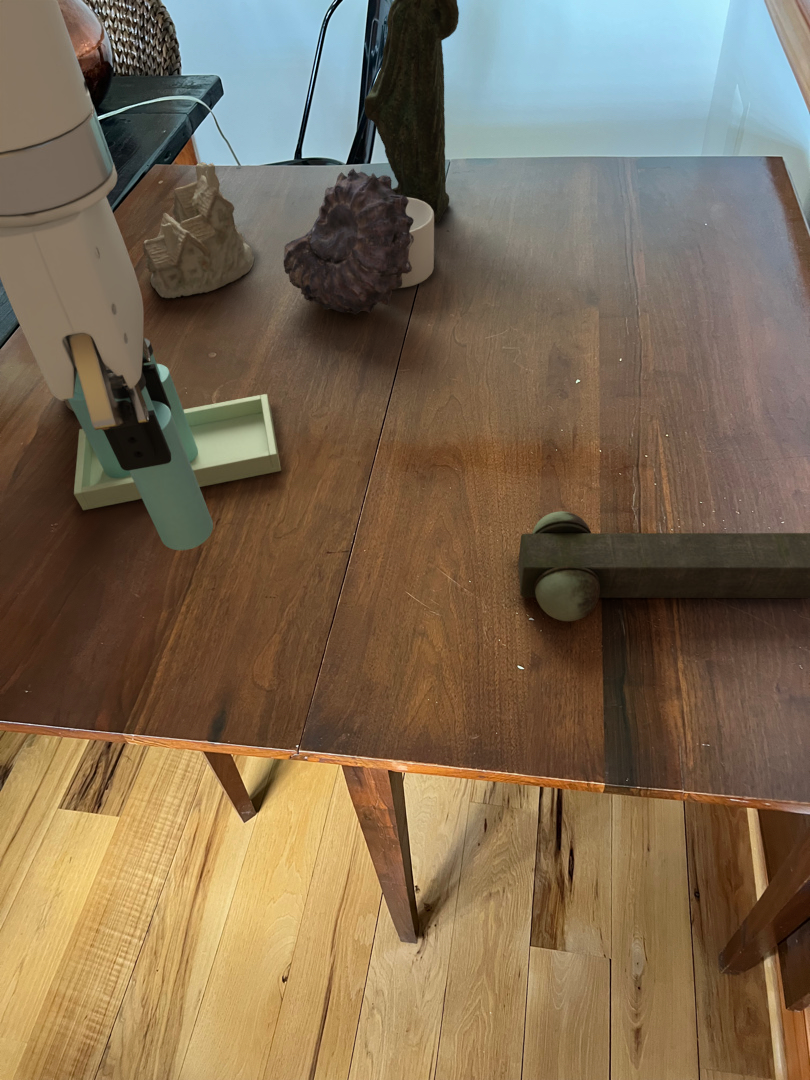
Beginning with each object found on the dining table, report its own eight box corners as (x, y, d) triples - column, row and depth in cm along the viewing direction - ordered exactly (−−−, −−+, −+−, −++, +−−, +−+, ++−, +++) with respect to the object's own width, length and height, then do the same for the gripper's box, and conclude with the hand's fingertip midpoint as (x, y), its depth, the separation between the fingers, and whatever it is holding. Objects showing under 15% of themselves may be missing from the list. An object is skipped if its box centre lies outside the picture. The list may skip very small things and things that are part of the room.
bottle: (160, 555, 57) (85, 399, 46) (160, 516, 60) (90, 360, 49) (214, 544, 57) (152, 388, 46) (212, 506, 60) (153, 349, 49)
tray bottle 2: (162, 469, 85) (116, 360, 74) (162, 446, 88) (117, 337, 77) (198, 462, 86) (158, 353, 75) (197, 439, 88) (157, 330, 77)
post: (826, 537, 75) (515, 537, 76) (849, 497, 70) (519, 498, 72) (867, 635, 67) (522, 633, 69) (895, 597, 63) (526, 596, 65)
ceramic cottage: (236, 225, 121) (206, 128, 109) (266, 278, 112) (237, 178, 100) (140, 257, 119) (99, 161, 107) (163, 314, 109) (120, 216, 97)
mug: (450, 262, 110) (449, 207, 104) (407, 298, 105) (403, 242, 99) (376, 239, 116) (371, 185, 110) (332, 271, 111) (324, 217, 105)
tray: (83, 510, 83) (73, 493, 81) (87, 445, 90) (79, 429, 88) (281, 471, 85) (276, 453, 83) (271, 410, 92) (266, 393, 90)
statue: (463, 196, 123) (462, -80, 96) (458, 226, 117) (455, -59, 90) (374, 196, 125) (348, -74, 98) (364, 226, 119) (334, -53, 92)
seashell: (326, 269, 111) (330, 355, 106) (259, 218, 102) (259, 308, 96) (435, 197, 101) (447, 287, 95) (372, 131, 91) (381, 227, 85)
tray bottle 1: (103, 481, 85) (47, 373, 74) (104, 457, 87) (51, 349, 76) (140, 474, 85) (90, 365, 74) (140, 450, 88) (92, 341, 77)
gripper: (-22, 107, 43) (99, 374, 57) (-85, 260, 32) (83, 543, 46) (115, 88, 43) (201, 357, 57) (97, 231, 33) (209, 519, 46)
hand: (147, 437), depth 51 cm, fingers closed on bottle, 4 cm apart
